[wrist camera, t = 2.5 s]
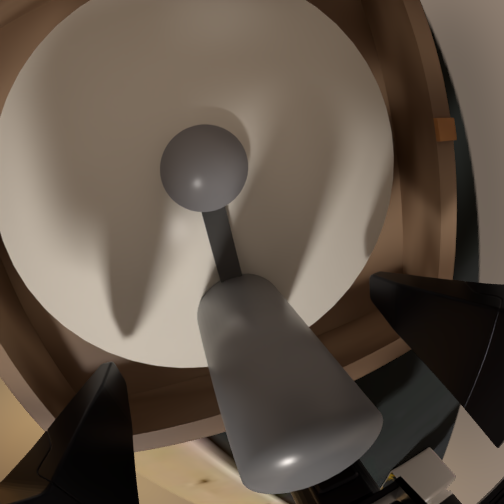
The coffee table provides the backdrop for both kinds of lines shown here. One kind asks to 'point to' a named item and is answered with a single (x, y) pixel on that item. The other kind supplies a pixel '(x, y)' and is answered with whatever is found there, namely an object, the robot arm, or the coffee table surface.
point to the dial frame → (333, 321)
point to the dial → (206, 207)
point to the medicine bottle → (426, 477)
